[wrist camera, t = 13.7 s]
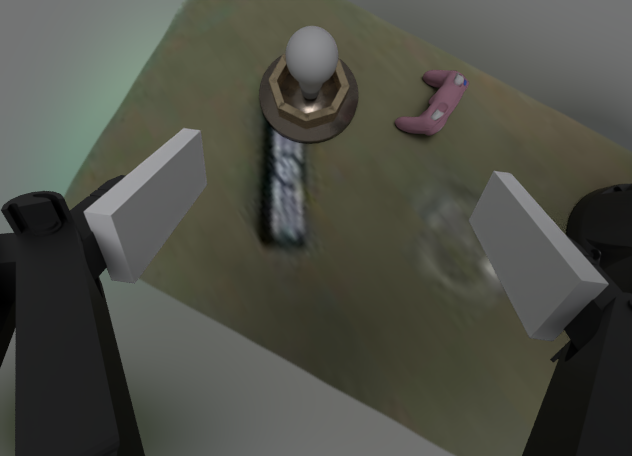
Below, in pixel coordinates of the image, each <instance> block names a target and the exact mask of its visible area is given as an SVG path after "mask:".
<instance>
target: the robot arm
mask: <svg viewBox="0 0 632 456" xmlns="http://www.w3.org/2000/svg"><path fill="white" fill-rule="evenodd" d="M206 185H207V181H206V172H205V163H204V155H203V146H202V138H201V131H200V130H193V129H186V128H183V129H182V130H181V131H180V132H178V133H177V134H176V135H175V136H174V137H172V138H171V139H170V140H169V141H168V142H166V143H165V144H164V145H163V146H162V147H160V148H159V149H158V150H157V151H156V152H154V153H153V154H152V155H151V156H150V157H148V158H147V159H146V160H145V161H144V162H142V163H141V164H140V165H139V166H138V167H136V168H135V169H134V170H133V171H132V172H130V173H129V174H128V175H127V176H124V175H120V176H118V177H116V178H113V179H111V180H109V181H107V182H106V183H104V184H103V185H102V186H100V187H99V188H98V190H95V191H94V192H93V193H92V194H90V197H89V196H88V197H86V198H85V199H84V200H83V201H81V202H80V203H79V204H78V205H76V206H75V207H74V208H73V209H71V210H70V211H69V209H68V206H67V204H66V202H65V200H64V198H63V196H62V195H61V194H59V193H56V192H51V191H40V192H31V193H28V194H24V195H20V196H18V197H16V198H13V199H11V200H10V201H8V202H7V203H6V204H4V205H3V207H2V209H1V211H2V213H3V215H4V216H5V218H6V219H7V221H8V223H9V225H10V226H11V228H12V229H13V231H14V233H6V234H0V367H1V365H2V362H3V359H4V357H5V354H6V351H7V349H8V346H9V343H10V340H11V338H12V335H13V333H14V330H15V328H16V393H15V396H16V403H15V404H16V406H15V408H16V409H15V411H16V414H15V416H16V417H15V428H16V429H15V456H145V454H144V450H143V446H142V442H141V438H140V434H139V430H138V426H137V422H136V418H135V414H134V410H133V406H132V402H131V398H130V394H129V390H128V386H127V382H126V378H125V374H124V370H123V366H122V362H121V358H120V354H119V350H118V346H117V342H116V338H115V334H114V331H113V327H112V322H111V318H110V314H109V310H108V307H107V302H106V298H105V294H104V291H103V287H102V283H101V281H100V278H99V275H100V274H101V273H102V272H103V271H104V270H105V269H106V268H107V270H108V273H109V275H110V277H111V280H114V281H121V282H127V283H135V282H136V281H137V280H138V278H139V277H140V276H141V274H142V273H143V271H144V270H145V269H146V267H147V266H148V265H149V263H150V262H151V261H152V259H153V258H154V256H155V255H156V254H157V252H158V251H159V250H160V248H161V247H162V246H163V244H164V243H165V241H166V240H167V239H168V237H169V236H170V235H171V233H172V232H173V230H174V229H175V228H176V226H177V225H178V224H179V222H180V221H181V220H182V218H183V217H184V215H185V214H186V213H187V211H188V210H189V209H190V207H191V206H192V205H193V203H194V202H195V200H196V199H197V198H198V196H199V195H200V194H201V192H202V191H203V189H204V188H205V187H206ZM469 222H470V224H471V226H472V228H473V230H474V232H475V234H476V236H477V238H478V240H479V241H480V243H481V245H482V247H483V249H484V251H485V253H486V255H487V257H488V259H489V261H490V263H491V265H492V266H493V268H494V270H495V272H496V274H497V276H498V278H499V280H500V282H501V284H502V286H503V288H504V290H505V291H506V293H507V295H508V297H509V299H510V301H511V303H512V305H513V307H514V309H515V311H516V313H517V315H518V316H519V318H520V320H521V322H522V324H523V326H524V328H525V330H526V332H527V334H528V336H529V338H533V339H540V340H547V341H554V340H555V339H556V338H557V336H558V335H559V334H560V333H561V332H562V331H563V330H565V332H566V333H567V335H568V336H569V338H570V339H571V340H570V341H569V342H568V343H567V344H566V345H565V346H564V347H563V348H562V349H561V350H560V351H559V352H557V353H556V354H555V355H554V356H553V357H552V358H551V359H550V360H551V361H553V362H555V361H556V360H557V359H559V360H558V363H557V365H556V368H555V371H554V373H553V376H552V378H551V381H550V384H549V386H548V389H547V392H546V394H545V397H544V399H543V402H542V405H541V407H540V410H539V413H538V415H537V418H536V420H535V423H534V426H533V428H532V431H531V434H530V436H529V439H528V441H527V444H526V447H525V449H524V452H523V455H522V456H632V184H619V185H614V186H610V187H606V188H603V189H599V190H596V191H594V192H592V193H590V194H588V195H587V196H585V197H584V198H583V199H582V200H581V201H580V202H579V203H578V204H577V205H576V207H575V208H574V210H573V212H572V214H571V216H570V219H569V222H568V228H567V235H565V234H564V233H563V232H562V231H561V229H560V228H559V227H558V226H557V225H556V224H555V223H554V221H553V220H552V219H551V218H550V217H549V216H548V215H547V214H546V212H545V211H544V210H543V209H542V208H541V207H540V206H539V205H538V203H537V202H536V201H535V200H534V199H533V198H532V197H531V195H530V194H529V193H528V192H527V191H526V190H525V189H524V188H523V186H522V185H521V184H520V183H519V182H518V181H517V180H516V179H515V177H514V176H513V175H512V174H511V173H505V172H498V171H493V173H492V175H491V177H490V179H489V181H488V183H487V185H486V187H485V189H484V191H483V193H482V195H481V197H480V199H479V201H478V203H477V205H476V207H475V209H474V211H473V213H472V215H471V217H470V219H469Z"/></svg>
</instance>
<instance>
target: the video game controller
mask: <svg viewBox="0 0 632 456" xmlns="http://www.w3.org/2000/svg"><path fill="white" fill-rule="evenodd" d="M423 79H424V81H425V82H426V83H427V84H429V85H431V86H433V87H437V88H440V89H439V90H438V91H437V92H436V94H434V95H433V96H432V97H431V98H430V100H429V104H430V106H429V108H428V109H427V110H425V111H424V112H423V113H422V114H421V115H420V117H400V118H397V119H396V120H395V124H396V126H397V127H398V128H399V129H401V130H403V131H405V132H409V133H414V134H426V135H433V134H435V133H436V132H438V131H440V130H441V129H442V127H443V126H444V125H445V123H446V121H447V118H448V116H449V115H450V114H451V113H452V111H453V110H454V109H455V107H456V106H457V104H458V102H459V101H460V99H461V97H462V95H463V93H464V91H465V90H466V89H467V87H468V85H469V81H468V80H467V79H466V78H465V77H464V75H462V74H461V73H459V72H457V71H443V70H430V71H427V72H426V73H425V74H424V75H423Z"/></svg>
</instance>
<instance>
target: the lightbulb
mask: <svg viewBox="0 0 632 456" xmlns="http://www.w3.org/2000/svg"><path fill="white" fill-rule="evenodd" d="M337 63H338V49H337V46H336V43H335V40H334V39H333V37H332V36H331V35H330V34H329V33H328V32H327V31H326V30H324V29H322V28H320V27H317V26H307V27H303V28H301V29H299V30H298V31H297V32H295V33H294V34H293V35H292V37H291V38H290V40H289V42H288V45H287V48H286V64H287V67H288V69H289V71H290V73H291V75H292V76H293V77H294V78H295V79H296V80H297V81H299V85H300V87H301V92H302V95H303V96H304V97H305V98H307V99H315V98H316V97H317V96H318V95H319V91H320V89H321V87H322V84H323V83H324V82H325V81H327V80H328V79H329V78H330V77H331V76H332V75H333V73H334V71H335V69H336V67H337Z"/></svg>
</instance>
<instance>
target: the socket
mask: <svg viewBox="0 0 632 456" xmlns="http://www.w3.org/2000/svg"><path fill="white" fill-rule="evenodd" d="M259 97H260V104H261V108H262V111H263V114H264V116H265V118H266V120H267V121H268V123H269V124H270V125H271V127H272V128H273V129H274V130H275V131H276V132H278V133H279V134H280V135H282V136H283V137H285V138H287V139H289V140H292V141H295V142H299V143H309V144H312V143H320V142H324V141H327V140H329V139H332V138H333V137H335V136H337V135H338V134H340V133H341V132H342V131H343V130H344V129H345V128H346V127H347V126H348V125H349V123H350V122H351V120H352V118H353V116H354V114H355V111H356V107H357V103H358V87H357V83H356V80H355V78H354V75H353V73H352V72H351V70H350V69H349V68H348V66H347V65H346V64H345V63H344V62H343V61H342V60H341V59H339V58H338V63H337V67H336V69H335V71H334V73H333V75H332V76H331V77H330V78H329V79H328V80H327V81H325V82H324V83H323V84H322V87H321V89H320V91H319V95H318V96H317V97H316V98H315V99H307V98H305V97H304V96H303V95H302V92H301V87H300V85H299V81H297V80H296V79H295V78H294V77H293V76H292V75H291V73H290V71H289V69H288V67H287V64H286V54H283V55H282V56H280V57H279V58H277V59H276V60H275V61H274V62H273V63H272V64H271V65H270V66H269V67H268V69H267V70H266V72H265V73H264V75H263V78H262V81H261V84H260V90H259Z"/></svg>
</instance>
